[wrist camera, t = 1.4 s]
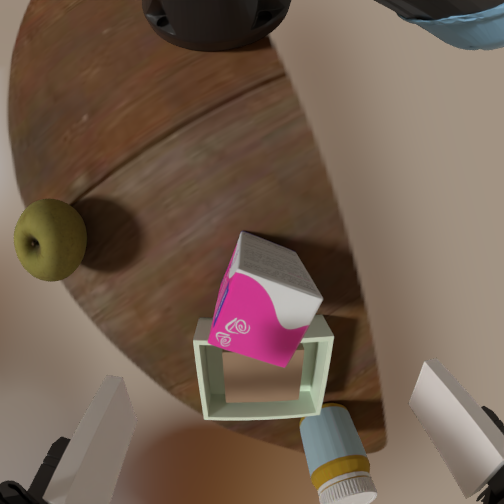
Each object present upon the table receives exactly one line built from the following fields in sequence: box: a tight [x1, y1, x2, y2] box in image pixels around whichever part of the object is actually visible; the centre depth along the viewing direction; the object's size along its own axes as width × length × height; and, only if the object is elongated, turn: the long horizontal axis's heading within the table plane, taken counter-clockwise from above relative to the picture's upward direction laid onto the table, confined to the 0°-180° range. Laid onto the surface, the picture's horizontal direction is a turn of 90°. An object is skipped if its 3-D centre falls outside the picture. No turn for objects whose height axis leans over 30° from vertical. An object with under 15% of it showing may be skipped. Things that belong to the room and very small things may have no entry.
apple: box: [14, 199, 87, 281], centre depth 23 cm, size 8×8×7 cm
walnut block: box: [222, 343, 304, 403], centre depth 29 cm, size 7×8×3 cm
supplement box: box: [208, 231, 323, 368], centre depth 23 cm, size 6×6×12 cm
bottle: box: [299, 403, 377, 504], centre depth 27 cm, size 7×7×15 cm
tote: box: [193, 315, 334, 420], centre depth 29 cm, size 11×13×4 cm
